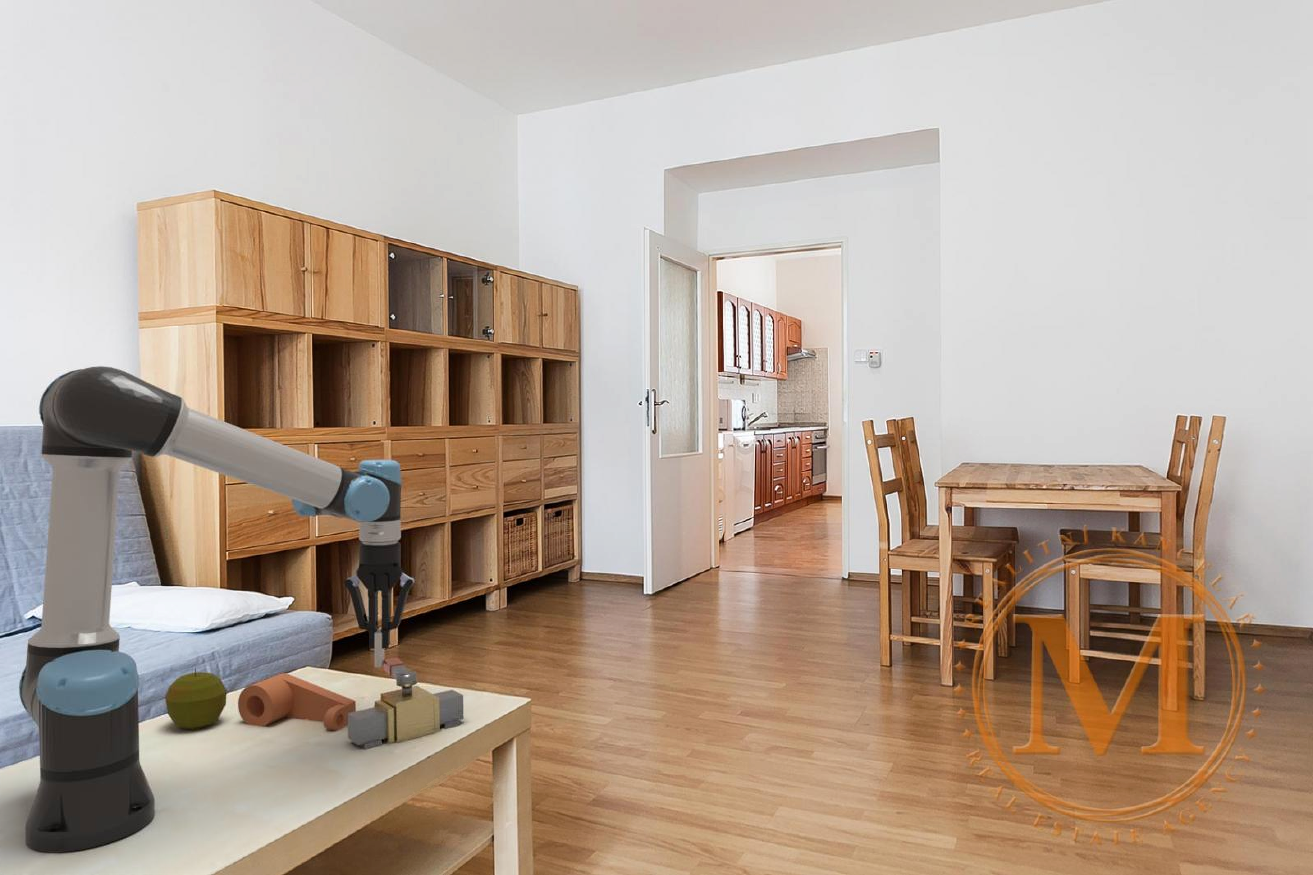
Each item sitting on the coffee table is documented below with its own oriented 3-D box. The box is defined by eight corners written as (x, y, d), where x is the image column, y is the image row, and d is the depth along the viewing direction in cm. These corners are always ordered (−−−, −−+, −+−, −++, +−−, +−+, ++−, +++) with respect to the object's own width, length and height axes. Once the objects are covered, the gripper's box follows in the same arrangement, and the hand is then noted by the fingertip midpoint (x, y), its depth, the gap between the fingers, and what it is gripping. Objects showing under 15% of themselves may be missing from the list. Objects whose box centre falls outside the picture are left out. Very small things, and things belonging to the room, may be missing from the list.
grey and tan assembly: (360, 751, 149) (359, 702, 149) (345, 740, 154) (344, 692, 154) (466, 724, 162) (466, 679, 161) (449, 715, 167) (448, 671, 167)
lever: (419, 684, 157) (419, 674, 157) (399, 688, 155) (399, 677, 155) (400, 667, 169) (400, 657, 169) (381, 670, 167) (381, 660, 167)
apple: (238, 719, 166) (236, 662, 166) (200, 737, 157) (199, 676, 156) (193, 716, 168) (192, 659, 168) (153, 733, 159) (152, 673, 159)
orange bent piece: (238, 725, 163) (237, 683, 163) (269, 712, 171) (268, 671, 171) (328, 736, 157) (327, 692, 157) (355, 721, 165) (355, 680, 165)
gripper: (339, 545, 160) (339, 671, 162) (410, 545, 162) (409, 671, 163) (350, 538, 168) (350, 659, 169) (418, 538, 169) (417, 659, 170)
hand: (379, 665), depth 166 cm, fingers closed
